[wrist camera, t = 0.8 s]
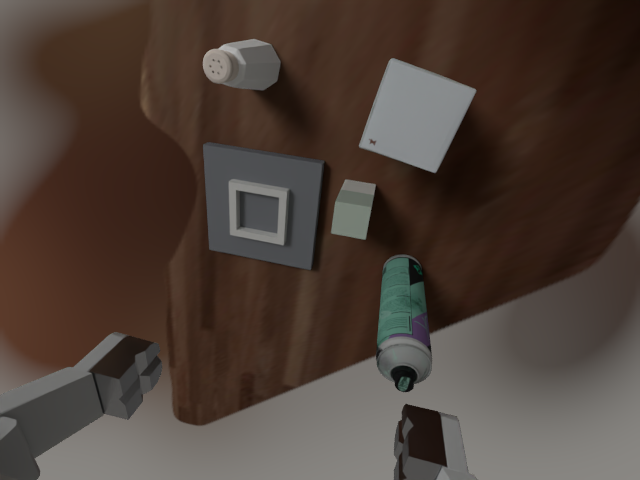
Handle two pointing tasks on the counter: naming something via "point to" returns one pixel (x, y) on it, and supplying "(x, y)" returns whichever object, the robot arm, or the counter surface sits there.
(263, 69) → the pepper shaker
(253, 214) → the square peg socket board
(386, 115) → the supplement box
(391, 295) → the spray can
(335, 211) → the block stack
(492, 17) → the counter surface
